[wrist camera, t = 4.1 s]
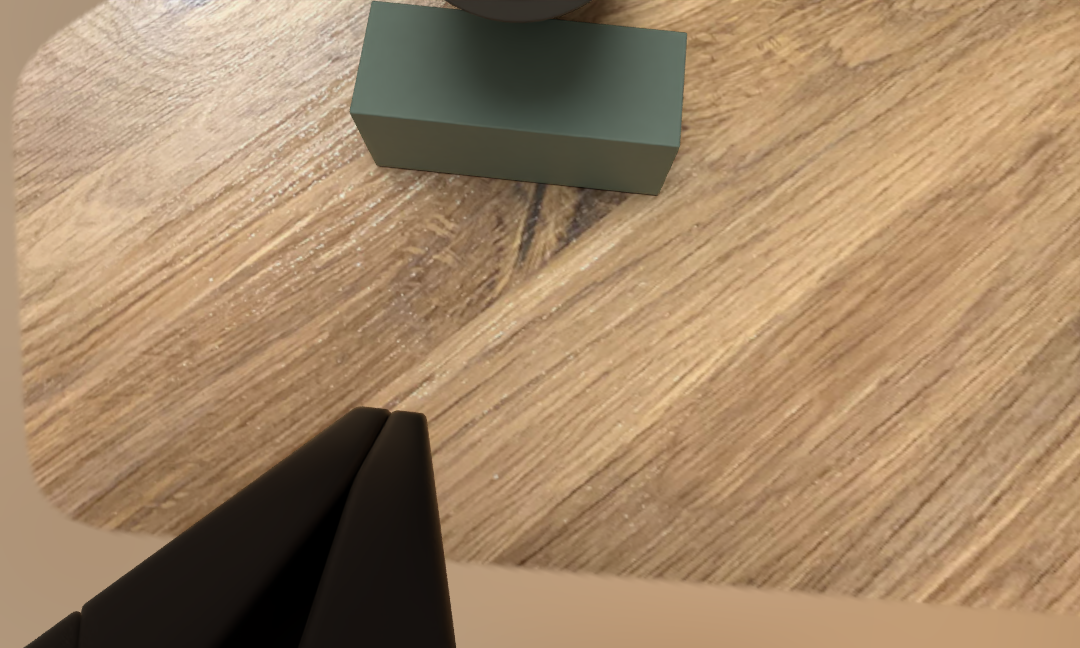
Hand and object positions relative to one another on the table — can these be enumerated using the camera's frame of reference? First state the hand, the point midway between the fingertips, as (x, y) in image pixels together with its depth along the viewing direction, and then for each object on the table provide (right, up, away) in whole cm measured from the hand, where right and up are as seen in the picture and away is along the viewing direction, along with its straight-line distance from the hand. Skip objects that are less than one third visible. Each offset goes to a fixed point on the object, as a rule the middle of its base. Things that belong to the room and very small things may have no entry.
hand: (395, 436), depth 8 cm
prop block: (+1, +8, +15) cm, 17 cm away
